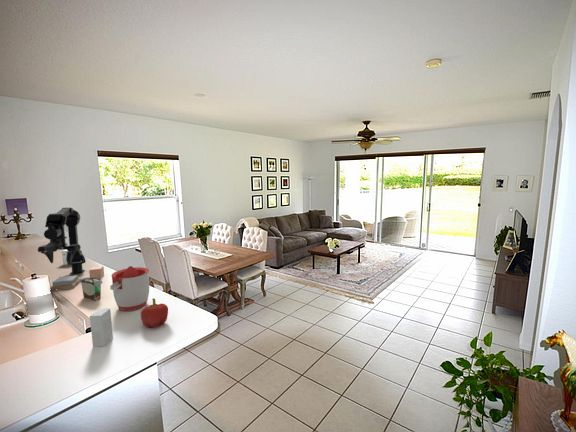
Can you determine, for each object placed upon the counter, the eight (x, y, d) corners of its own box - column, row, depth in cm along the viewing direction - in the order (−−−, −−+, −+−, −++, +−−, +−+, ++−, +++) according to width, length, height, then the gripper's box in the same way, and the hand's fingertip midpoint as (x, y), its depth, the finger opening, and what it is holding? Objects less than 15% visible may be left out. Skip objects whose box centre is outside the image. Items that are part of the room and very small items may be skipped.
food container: (108, 297, 144) (107, 278, 142) (96, 301, 138) (94, 282, 137) (94, 293, 149) (92, 275, 148) (81, 297, 143) (80, 278, 142)
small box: (79, 262, 204) (78, 248, 203) (72, 265, 199) (71, 250, 197) (69, 262, 205) (68, 248, 204) (62, 264, 199) (61, 250, 198)
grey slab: (59, 281, 162) (59, 277, 161) (78, 279, 165) (77, 275, 164) (52, 286, 153) (52, 282, 153) (72, 284, 156) (71, 280, 156)
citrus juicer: (102, 311, 128) (99, 269, 125) (135, 297, 144) (132, 260, 141) (126, 317, 122) (123, 274, 120) (158, 302, 138) (155, 263, 136)
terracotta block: (93, 276, 176) (92, 267, 175) (104, 275, 178) (103, 266, 177) (89, 279, 170) (89, 269, 170) (101, 278, 172) (100, 268, 172)
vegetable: (141, 321, 119) (139, 299, 118) (167, 316, 124) (166, 294, 123) (141, 333, 109) (140, 309, 108) (170, 327, 114) (168, 304, 113)
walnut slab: (59, 284, 162) (58, 280, 162) (81, 282, 166) (80, 278, 166) (50, 291, 152) (49, 287, 152) (73, 289, 156) (73, 285, 155)
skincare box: (101, 337, 106) (99, 308, 105) (113, 337, 107) (110, 307, 105) (91, 347, 100) (89, 316, 99) (104, 346, 101) (101, 315, 99)
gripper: (28, 239, 145) (31, 267, 147) (67, 238, 148) (70, 266, 150) (43, 235, 156) (46, 261, 158) (79, 234, 159) (82, 260, 161)
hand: (61, 262), depth 157 cm, fingers open, 9 cm apart
